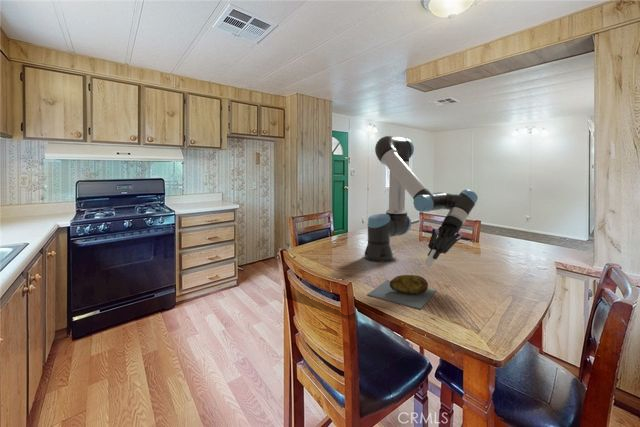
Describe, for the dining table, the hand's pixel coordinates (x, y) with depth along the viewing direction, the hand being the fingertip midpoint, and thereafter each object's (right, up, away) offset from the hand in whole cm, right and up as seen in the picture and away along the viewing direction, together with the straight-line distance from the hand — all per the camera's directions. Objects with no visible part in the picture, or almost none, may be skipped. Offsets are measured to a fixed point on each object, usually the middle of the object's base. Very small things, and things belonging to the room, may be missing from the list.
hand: (427, 264), depth 118 cm
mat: (-13, -10, -9) cm, 19 cm away
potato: (-11, -7, -6) cm, 14 cm away
